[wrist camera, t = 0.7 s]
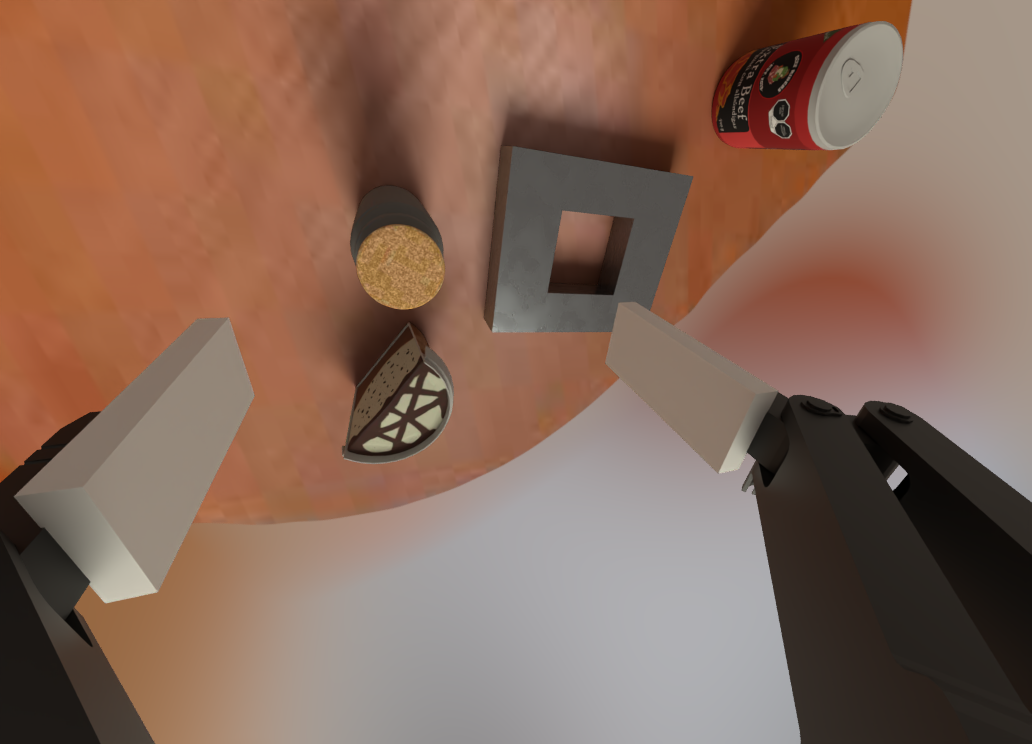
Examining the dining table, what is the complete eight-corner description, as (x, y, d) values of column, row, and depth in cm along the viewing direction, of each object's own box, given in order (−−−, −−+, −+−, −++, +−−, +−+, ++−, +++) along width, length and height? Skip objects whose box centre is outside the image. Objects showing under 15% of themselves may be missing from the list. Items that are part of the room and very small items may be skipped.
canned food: (738, 33, 34) (869, -6, 25) (791, 75, 37) (923, 54, 28) (694, 129, 37) (796, 125, 28) (746, 159, 40) (852, 165, 31)
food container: (397, 420, 43) (401, 485, 35) (347, 397, 40) (339, 463, 32) (464, 342, 41) (486, 392, 33) (417, 310, 38) (428, 357, 29)
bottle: (394, 268, 35) (402, 337, 23) (341, 216, 31) (318, 264, 19) (441, 226, 34) (475, 274, 22) (392, 168, 31) (402, 186, 19)
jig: (500, 145, 32) (512, 146, 29) (669, 173, 38) (693, 176, 35) (484, 318, 40) (492, 332, 37) (626, 319, 46) (643, 331, 43)
